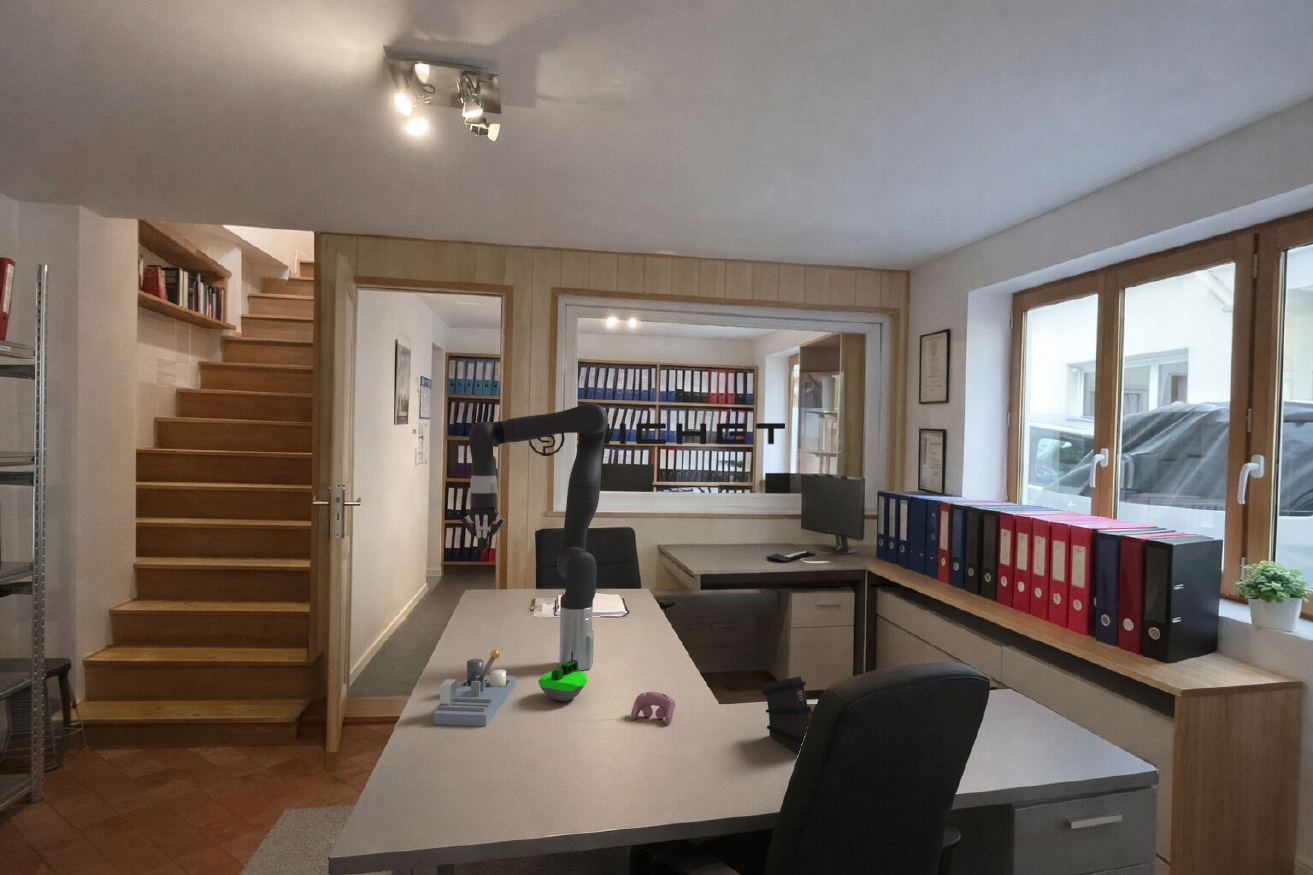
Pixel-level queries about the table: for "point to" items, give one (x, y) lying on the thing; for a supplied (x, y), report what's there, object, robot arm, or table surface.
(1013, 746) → the table surface
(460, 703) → the panel
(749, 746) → the table surface
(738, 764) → the table surface
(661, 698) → the video game controller
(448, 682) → the slider knob
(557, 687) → the green floating island model
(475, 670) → the button
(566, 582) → the robot arm
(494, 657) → the toggle lever
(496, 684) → the button
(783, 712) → the magazine
